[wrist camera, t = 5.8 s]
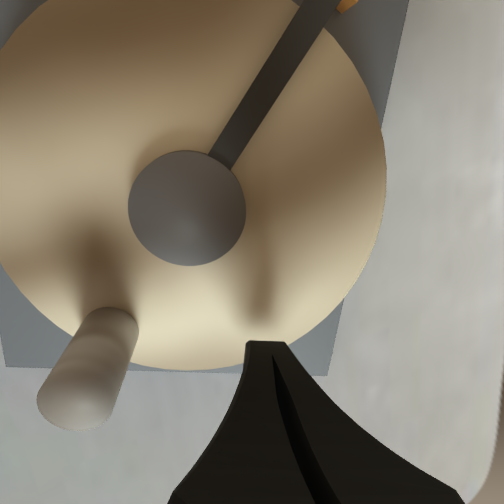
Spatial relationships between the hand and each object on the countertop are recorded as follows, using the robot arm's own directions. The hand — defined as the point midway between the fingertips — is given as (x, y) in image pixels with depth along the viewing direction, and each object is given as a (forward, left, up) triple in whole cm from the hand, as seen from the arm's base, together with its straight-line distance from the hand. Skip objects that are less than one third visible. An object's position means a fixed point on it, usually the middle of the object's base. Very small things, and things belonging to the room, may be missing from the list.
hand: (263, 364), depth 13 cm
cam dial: (-3, +5, -3) cm, 6 cm away
